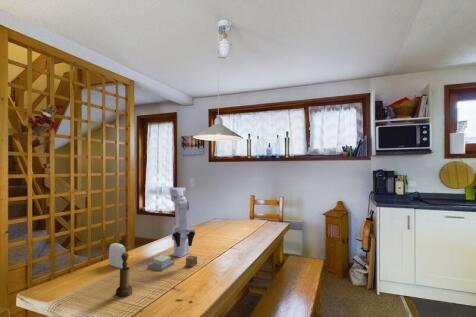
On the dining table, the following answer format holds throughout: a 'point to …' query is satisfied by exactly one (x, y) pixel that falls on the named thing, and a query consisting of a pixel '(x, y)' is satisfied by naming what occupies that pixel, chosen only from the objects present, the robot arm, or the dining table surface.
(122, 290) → the mortar and pestle
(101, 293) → the dining table surface
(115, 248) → the photo printer
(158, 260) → the tower top slab
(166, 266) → the tower base slab
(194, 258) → the walnut cube
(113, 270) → the dining table surface
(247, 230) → the dining table surface
